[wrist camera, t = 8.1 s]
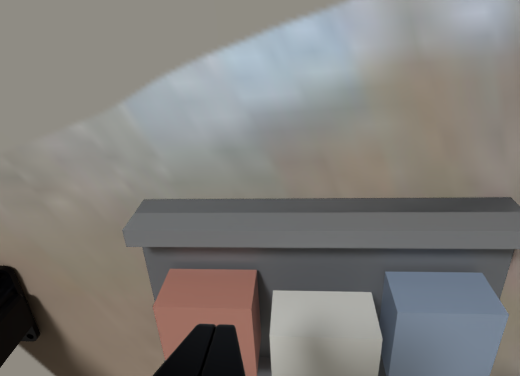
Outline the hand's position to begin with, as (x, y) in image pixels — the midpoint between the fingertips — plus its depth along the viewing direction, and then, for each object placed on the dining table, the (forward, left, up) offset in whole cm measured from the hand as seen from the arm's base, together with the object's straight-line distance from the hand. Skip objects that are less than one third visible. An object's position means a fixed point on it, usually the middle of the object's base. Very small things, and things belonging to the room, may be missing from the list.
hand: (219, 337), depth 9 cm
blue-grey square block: (+9, -10, -11) cm, 17 cm away
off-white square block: (+3, -10, -10) cm, 14 cm away
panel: (+3, -10, -13) cm, 17 cm away
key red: (-3, -10, -11) cm, 15 cm away
